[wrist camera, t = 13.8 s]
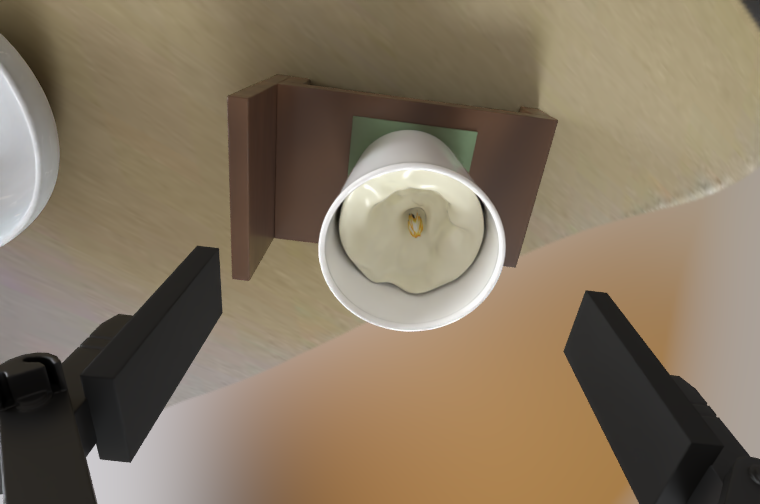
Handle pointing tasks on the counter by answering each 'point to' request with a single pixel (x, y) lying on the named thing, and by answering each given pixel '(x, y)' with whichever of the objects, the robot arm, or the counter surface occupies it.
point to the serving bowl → (24, 145)
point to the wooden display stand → (344, 146)
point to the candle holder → (411, 236)
